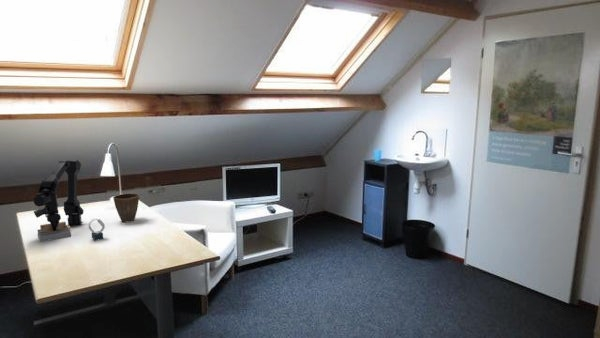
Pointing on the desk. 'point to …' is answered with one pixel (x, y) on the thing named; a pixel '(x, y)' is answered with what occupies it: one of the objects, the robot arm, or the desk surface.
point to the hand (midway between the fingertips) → (53, 229)
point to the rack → (54, 234)
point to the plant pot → (126, 206)
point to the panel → (48, 228)
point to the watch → (97, 234)
